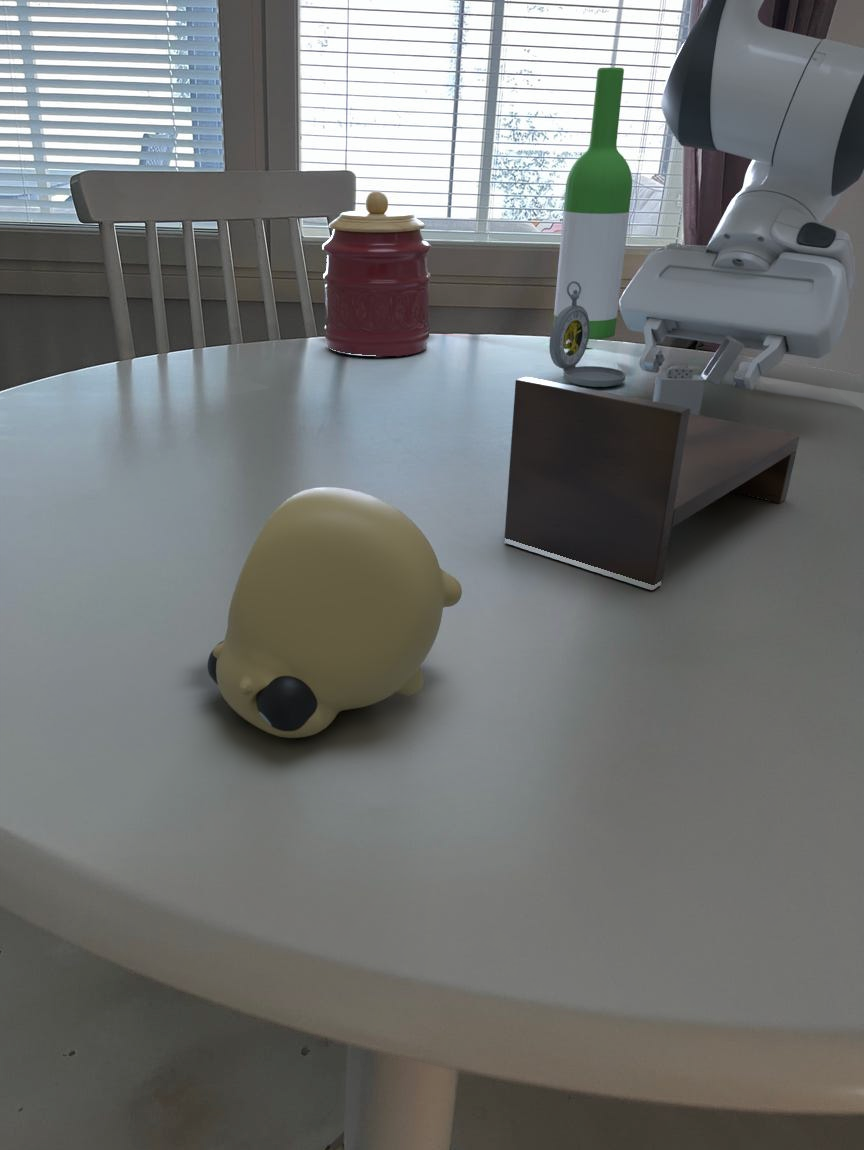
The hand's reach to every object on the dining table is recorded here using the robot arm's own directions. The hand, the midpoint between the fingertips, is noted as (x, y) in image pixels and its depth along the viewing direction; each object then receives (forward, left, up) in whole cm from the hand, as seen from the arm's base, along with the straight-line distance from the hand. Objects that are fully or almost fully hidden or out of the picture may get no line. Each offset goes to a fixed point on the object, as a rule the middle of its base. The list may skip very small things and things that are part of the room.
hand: (693, 376), depth 85 cm
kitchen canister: (+44, -6, -5) cm, 45 cm away
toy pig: (-8, +56, -5) cm, 57 cm away
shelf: (-9, +23, -5) cm, 25 cm away
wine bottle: (+26, -25, -5) cm, 36 cm away
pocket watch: (+16, -9, -5) cm, 19 cm away
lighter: (0, -1, -5) cm, 5 cm away
